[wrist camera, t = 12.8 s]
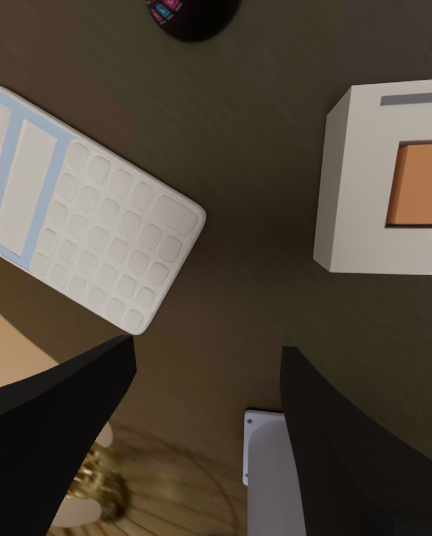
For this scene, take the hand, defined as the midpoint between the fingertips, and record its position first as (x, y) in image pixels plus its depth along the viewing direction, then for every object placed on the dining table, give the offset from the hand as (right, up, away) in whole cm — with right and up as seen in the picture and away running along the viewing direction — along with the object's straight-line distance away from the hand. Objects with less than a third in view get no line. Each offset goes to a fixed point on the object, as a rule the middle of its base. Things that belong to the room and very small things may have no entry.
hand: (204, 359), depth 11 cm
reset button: (+13, +9, +4) cm, 16 cm away
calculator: (-12, +9, +10) cm, 18 cm away
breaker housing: (+13, +10, +5) cm, 17 cm away
